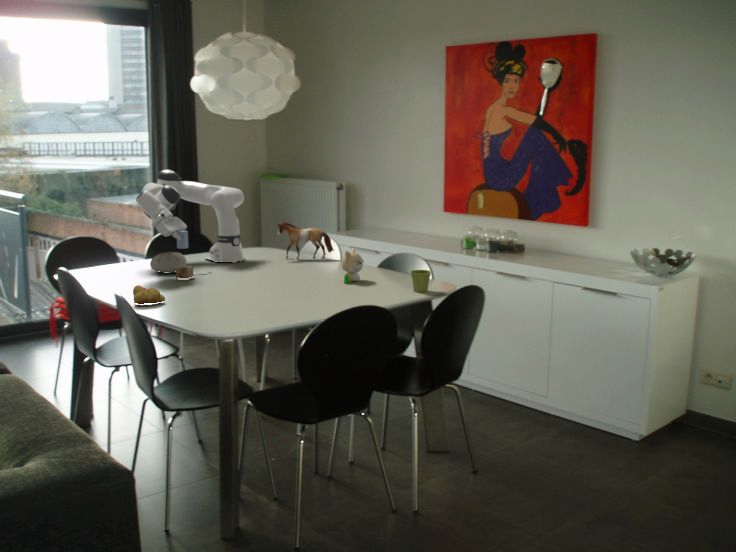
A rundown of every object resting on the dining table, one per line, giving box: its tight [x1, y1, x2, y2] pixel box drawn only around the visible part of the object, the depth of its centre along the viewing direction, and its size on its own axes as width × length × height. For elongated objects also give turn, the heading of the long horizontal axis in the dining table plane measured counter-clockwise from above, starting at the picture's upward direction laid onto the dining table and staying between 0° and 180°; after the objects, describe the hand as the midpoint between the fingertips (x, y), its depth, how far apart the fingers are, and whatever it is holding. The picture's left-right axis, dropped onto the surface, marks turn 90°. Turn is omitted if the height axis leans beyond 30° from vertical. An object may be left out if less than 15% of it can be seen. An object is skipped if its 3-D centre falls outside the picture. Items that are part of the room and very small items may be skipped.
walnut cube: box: [175, 265, 195, 278], centre depth 386 cm, size 6×6×6 cm
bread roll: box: [132, 285, 166, 304], centre depth 333 cm, size 13×10×8 cm
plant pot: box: [409, 269, 432, 293], centre depth 352 cm, size 9×9×9 cm
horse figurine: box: [275, 222, 335, 260], centre depth 435 cm, size 31×8×21 cm, turn 85°
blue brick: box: [176, 230, 189, 250], centre depth 384 cm, size 4×4×8 cm
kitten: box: [341, 247, 365, 285], centre depth 375 cm, size 15×10×15 cm, turn 161°
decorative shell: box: [149, 251, 187, 273], centre depth 405 cm, size 18×18×10 cm
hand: (183, 239), depth 383 cm, fingers closed on blue brick, 4 cm apart
